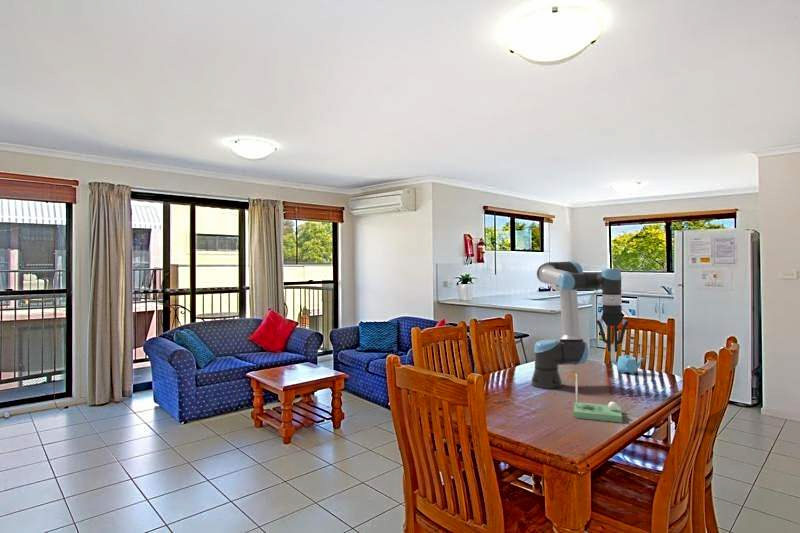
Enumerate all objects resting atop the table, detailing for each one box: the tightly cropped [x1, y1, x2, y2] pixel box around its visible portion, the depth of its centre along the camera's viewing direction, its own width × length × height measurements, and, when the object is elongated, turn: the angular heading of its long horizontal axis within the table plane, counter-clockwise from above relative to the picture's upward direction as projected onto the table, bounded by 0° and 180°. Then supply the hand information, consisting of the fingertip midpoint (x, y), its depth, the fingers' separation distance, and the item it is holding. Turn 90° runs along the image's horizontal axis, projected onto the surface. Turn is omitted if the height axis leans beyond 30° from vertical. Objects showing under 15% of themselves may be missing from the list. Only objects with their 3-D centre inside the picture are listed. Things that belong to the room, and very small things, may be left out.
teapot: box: [610, 354, 645, 375], centre depth 268 cm, size 18×14×10 cm
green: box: [567, 372, 623, 423], centre depth 195 cm, size 21×14×16 cm
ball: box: [607, 401, 619, 411], centre depth 192 cm, size 4×4×4 cm
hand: (612, 359), depth 199 cm, fingers closed
